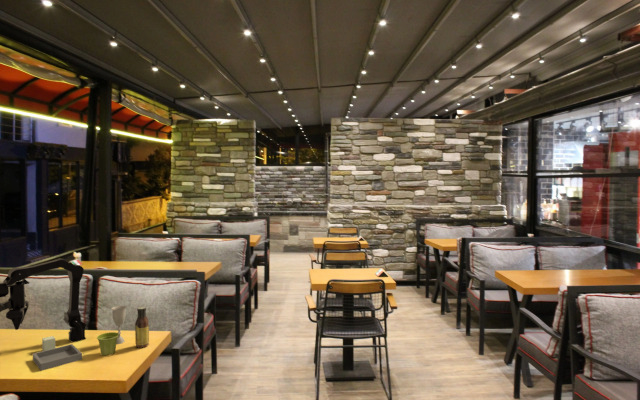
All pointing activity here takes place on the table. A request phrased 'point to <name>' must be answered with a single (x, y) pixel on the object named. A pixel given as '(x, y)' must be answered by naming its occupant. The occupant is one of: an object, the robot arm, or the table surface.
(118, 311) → the chalice
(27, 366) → the table surface
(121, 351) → the table surface
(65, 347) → the tray
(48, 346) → the sage block
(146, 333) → the sauce bottle
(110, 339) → the plant pot
